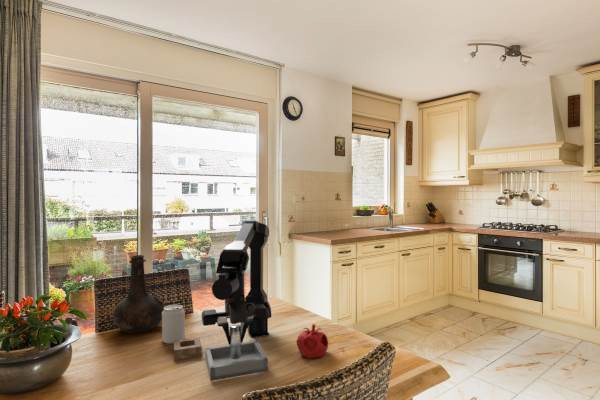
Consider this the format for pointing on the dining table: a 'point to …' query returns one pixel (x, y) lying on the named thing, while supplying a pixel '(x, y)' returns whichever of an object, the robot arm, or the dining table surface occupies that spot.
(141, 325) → the brown vase
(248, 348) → the tray
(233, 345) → the pin
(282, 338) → the dining table surface
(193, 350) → the socket block
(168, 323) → the can
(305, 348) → the pomegranate
